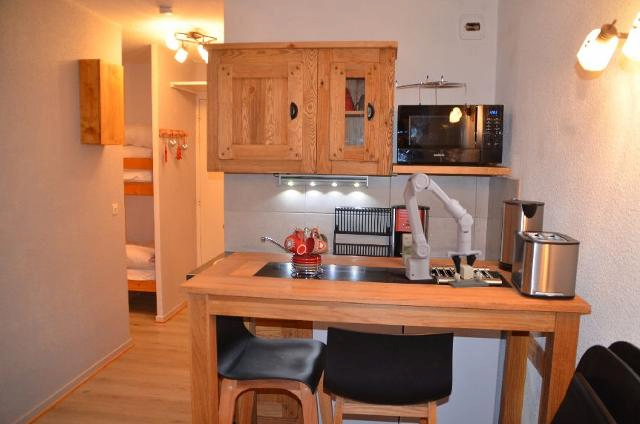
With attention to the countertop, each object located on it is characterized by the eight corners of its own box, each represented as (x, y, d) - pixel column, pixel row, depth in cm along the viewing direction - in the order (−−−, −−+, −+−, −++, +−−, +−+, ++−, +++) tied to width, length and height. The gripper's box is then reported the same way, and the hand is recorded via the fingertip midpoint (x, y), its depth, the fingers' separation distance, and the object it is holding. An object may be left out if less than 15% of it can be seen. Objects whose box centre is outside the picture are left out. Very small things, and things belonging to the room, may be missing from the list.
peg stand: (454, 287, 192) (454, 276, 192) (447, 283, 199) (448, 272, 199) (488, 286, 194) (489, 274, 193) (481, 281, 201) (481, 270, 200)
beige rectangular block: (473, 279, 203) (473, 267, 203) (464, 280, 203) (464, 268, 202) (462, 273, 214) (462, 261, 214) (453, 273, 214) (454, 262, 213)
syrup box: (414, 263, 235) (414, 233, 233) (415, 266, 229) (415, 235, 228) (402, 263, 236) (402, 233, 234) (403, 265, 230) (403, 235, 228)
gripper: (450, 243, 202) (450, 275, 204) (484, 242, 204) (484, 274, 205) (444, 240, 209) (444, 271, 211) (477, 239, 211) (476, 270, 212)
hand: (463, 272), depth 208 cm, fingers closed on beige rectangular block, 4 cm apart
